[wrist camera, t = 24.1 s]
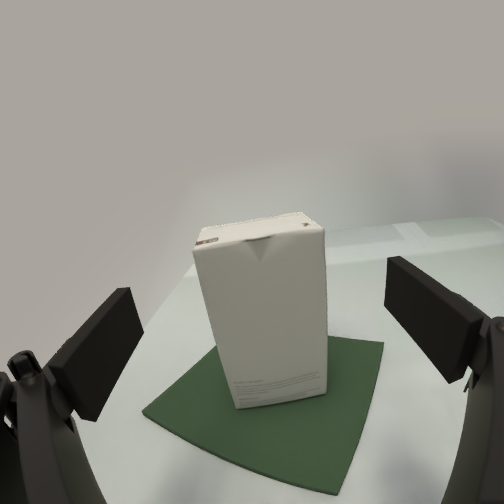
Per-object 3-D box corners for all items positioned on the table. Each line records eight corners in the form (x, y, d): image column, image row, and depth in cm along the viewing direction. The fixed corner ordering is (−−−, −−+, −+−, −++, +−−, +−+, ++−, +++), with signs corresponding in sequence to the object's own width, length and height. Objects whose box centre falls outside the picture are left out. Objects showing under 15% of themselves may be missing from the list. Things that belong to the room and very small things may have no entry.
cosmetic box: (312, 357, 26) (305, 209, 22) (328, 398, 20) (330, 223, 16) (229, 369, 26) (201, 222, 22) (230, 413, 20) (190, 242, 16)
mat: (143, 415, 21) (141, 411, 20) (242, 324, 35) (241, 320, 35) (336, 496, 12) (337, 493, 11) (383, 346, 26) (384, 342, 26)
